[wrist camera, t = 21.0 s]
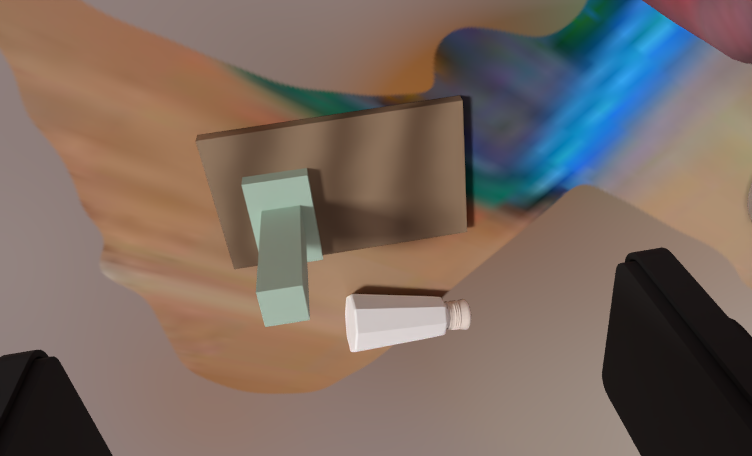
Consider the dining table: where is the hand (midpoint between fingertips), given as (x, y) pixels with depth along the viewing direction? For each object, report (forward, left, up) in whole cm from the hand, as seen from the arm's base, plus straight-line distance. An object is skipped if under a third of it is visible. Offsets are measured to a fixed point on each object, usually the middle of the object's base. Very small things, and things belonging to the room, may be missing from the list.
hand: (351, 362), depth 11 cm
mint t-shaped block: (+5, +19, -35) cm, 40 cm away
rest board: (0, +17, -36) cm, 40 cm away
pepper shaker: (+1, +30, -34) cm, 45 cm away
